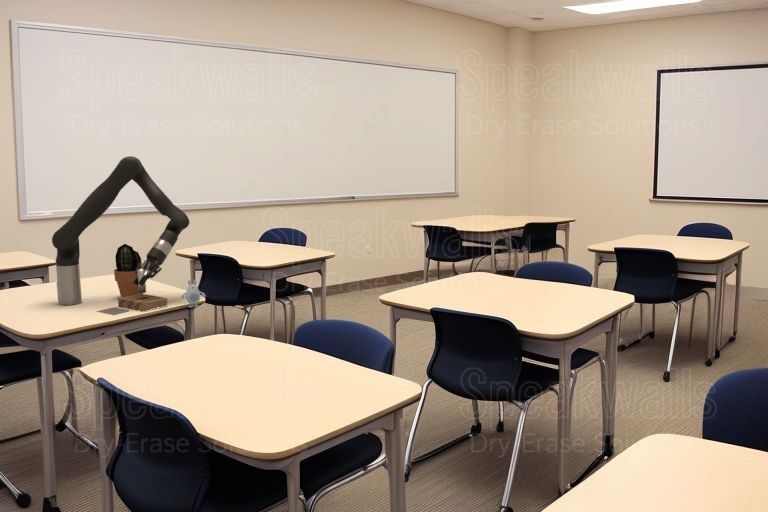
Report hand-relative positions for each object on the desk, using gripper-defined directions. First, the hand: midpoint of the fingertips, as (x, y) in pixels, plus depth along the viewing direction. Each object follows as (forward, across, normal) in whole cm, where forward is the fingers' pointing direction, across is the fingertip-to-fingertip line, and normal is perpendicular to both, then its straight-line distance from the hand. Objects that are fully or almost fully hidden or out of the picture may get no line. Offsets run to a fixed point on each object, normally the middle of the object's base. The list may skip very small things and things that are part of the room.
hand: (137, 284), depth 291 cm
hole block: (+6, 0, +9) cm, 11 cm away
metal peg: (+1, 0, +4) cm, 4 cm away
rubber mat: (+15, -3, 0) cm, 15 cm away
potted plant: (-1, -21, +16) cm, 26 cm away
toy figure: (-2, +18, +18) cm, 25 cm away
